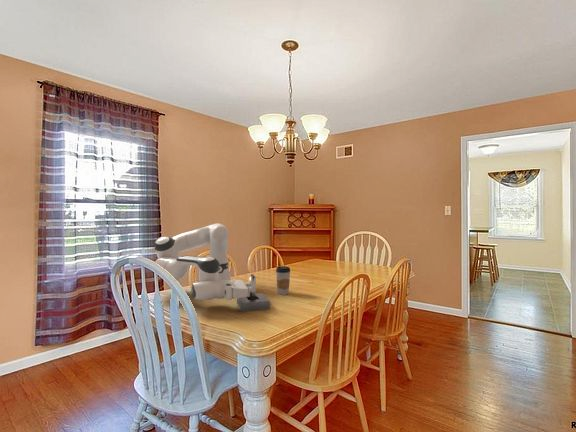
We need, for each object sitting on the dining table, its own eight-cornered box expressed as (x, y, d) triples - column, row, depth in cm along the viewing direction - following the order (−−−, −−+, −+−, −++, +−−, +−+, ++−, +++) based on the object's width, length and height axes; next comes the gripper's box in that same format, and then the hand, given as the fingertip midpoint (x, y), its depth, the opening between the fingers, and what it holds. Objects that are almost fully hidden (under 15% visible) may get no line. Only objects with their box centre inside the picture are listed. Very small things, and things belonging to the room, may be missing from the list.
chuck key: (248, 301, 157) (248, 274, 156) (254, 301, 157) (254, 273, 157) (250, 304, 152) (250, 276, 151) (256, 304, 153) (256, 276, 152)
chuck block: (236, 303, 159) (236, 295, 159) (263, 300, 163) (263, 293, 163) (240, 311, 146) (240, 303, 146) (269, 309, 150) (269, 300, 150)
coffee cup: (277, 295, 173) (277, 269, 173) (274, 291, 181) (274, 266, 181) (292, 294, 175) (292, 268, 175) (288, 290, 183) (288, 265, 183)
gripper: (224, 289, 161) (250, 288, 165) (228, 301, 141) (258, 298, 145) (224, 277, 160) (250, 276, 165) (228, 287, 141) (258, 285, 145)
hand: (254, 286), depth 155 cm, fingers closed on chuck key, 3 cm apart
